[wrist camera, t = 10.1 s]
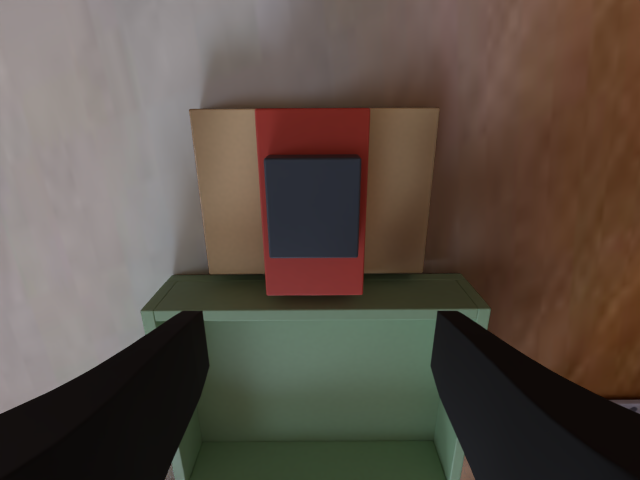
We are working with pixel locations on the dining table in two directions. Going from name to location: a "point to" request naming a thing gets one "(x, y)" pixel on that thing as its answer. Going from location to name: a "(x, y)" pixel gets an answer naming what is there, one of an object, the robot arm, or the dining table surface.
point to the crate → (318, 379)
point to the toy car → (313, 198)
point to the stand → (382, 188)
